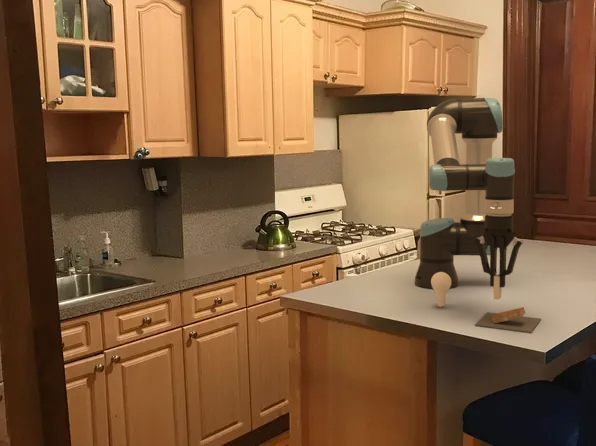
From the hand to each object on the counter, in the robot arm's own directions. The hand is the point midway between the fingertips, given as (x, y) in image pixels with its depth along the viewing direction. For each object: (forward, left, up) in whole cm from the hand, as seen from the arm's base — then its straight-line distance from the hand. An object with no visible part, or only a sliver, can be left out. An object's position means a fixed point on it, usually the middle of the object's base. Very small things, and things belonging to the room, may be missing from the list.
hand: (497, 298), depth 178 cm
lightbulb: (-19, +9, -7) cm, 22 cm away
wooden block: (-1, 0, -6) cm, 6 cm away
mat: (+3, +1, -7) cm, 8 cm away
